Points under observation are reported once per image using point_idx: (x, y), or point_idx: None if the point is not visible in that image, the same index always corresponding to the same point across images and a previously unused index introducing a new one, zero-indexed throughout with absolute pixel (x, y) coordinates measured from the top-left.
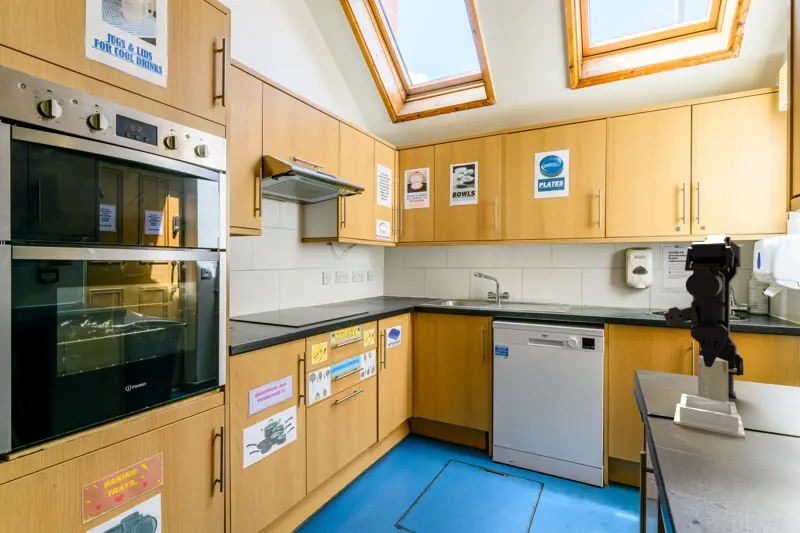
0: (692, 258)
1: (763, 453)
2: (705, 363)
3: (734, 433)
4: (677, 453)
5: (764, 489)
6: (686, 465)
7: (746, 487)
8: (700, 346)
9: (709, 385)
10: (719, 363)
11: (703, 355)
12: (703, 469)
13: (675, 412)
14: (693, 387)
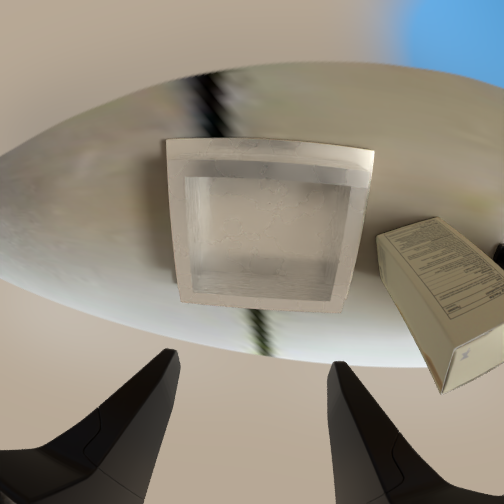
0: None
1: (120, 295)
2: (152, 361)
3: (176, 270)
4: (22, 172)
5: (17, 267)
6: (3, 189)
7: (8, 251)
8: (63, 436)
9: (406, 278)
10: (441, 370)
11: (114, 395)
12: (8, 209)
13: (258, 139)
14: None
